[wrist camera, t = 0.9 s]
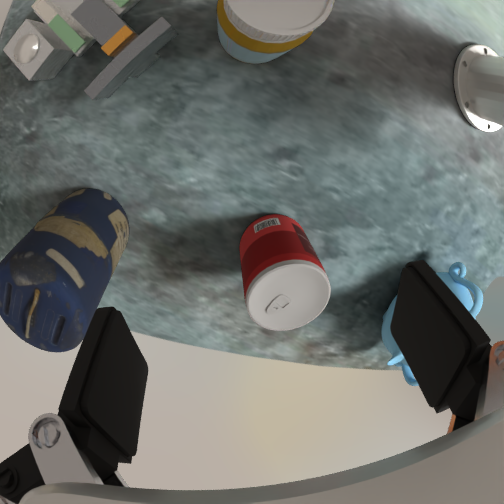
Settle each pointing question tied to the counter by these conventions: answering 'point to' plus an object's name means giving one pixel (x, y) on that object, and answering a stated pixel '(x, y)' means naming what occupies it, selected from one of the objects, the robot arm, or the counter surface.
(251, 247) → the canned food
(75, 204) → the canister
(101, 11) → the grey t-shaped piece
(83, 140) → the counter surface
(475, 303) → the teapot
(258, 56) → the bottle
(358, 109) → the counter surface
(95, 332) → the robot arm
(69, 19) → the gauge body
